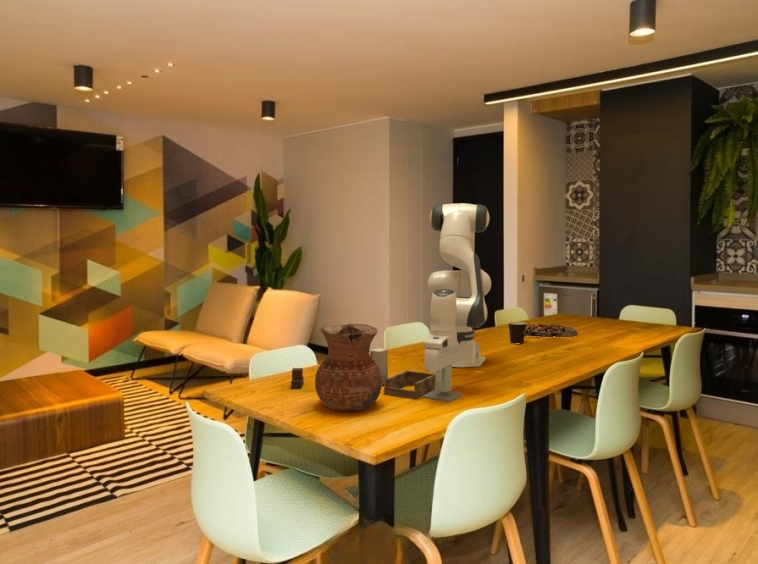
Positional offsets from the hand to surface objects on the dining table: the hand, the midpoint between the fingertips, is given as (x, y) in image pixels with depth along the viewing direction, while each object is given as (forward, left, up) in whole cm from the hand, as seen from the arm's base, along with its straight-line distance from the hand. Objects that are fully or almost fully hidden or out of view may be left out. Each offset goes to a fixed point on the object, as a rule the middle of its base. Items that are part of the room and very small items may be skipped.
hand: (443, 380), depth 195 cm
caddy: (0, -12, -6) cm, 13 cm away
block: (0, 0, -3) cm, 3 cm away
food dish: (-140, -4, -6) cm, 140 cm away
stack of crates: (+14, -49, -6) cm, 51 cm away
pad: (0, 0, -6) cm, 6 cm away
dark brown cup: (-105, -9, -6) cm, 106 cm away
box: (-2, -26, -6) cm, 27 cm away
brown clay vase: (+25, -21, -6) cm, 33 cm away
